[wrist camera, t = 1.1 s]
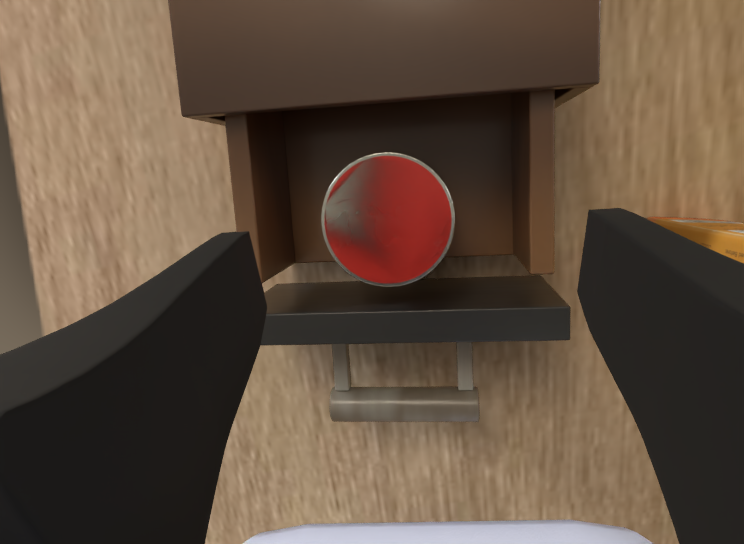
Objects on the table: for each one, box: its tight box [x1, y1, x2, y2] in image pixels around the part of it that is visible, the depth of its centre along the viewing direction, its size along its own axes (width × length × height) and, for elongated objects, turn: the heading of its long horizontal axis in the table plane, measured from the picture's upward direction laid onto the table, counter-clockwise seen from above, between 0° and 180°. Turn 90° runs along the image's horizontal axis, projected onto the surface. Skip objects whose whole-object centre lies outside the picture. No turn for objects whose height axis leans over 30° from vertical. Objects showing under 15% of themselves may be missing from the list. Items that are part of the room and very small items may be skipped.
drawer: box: [225, 89, 570, 422], centre depth 21 cm, size 16×12×6 cm
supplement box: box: [647, 217, 744, 263], centre depth 18 cm, size 3×3×10 cm
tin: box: [321, 152, 455, 287], centre depth 20 cm, size 4×4×5 cm
